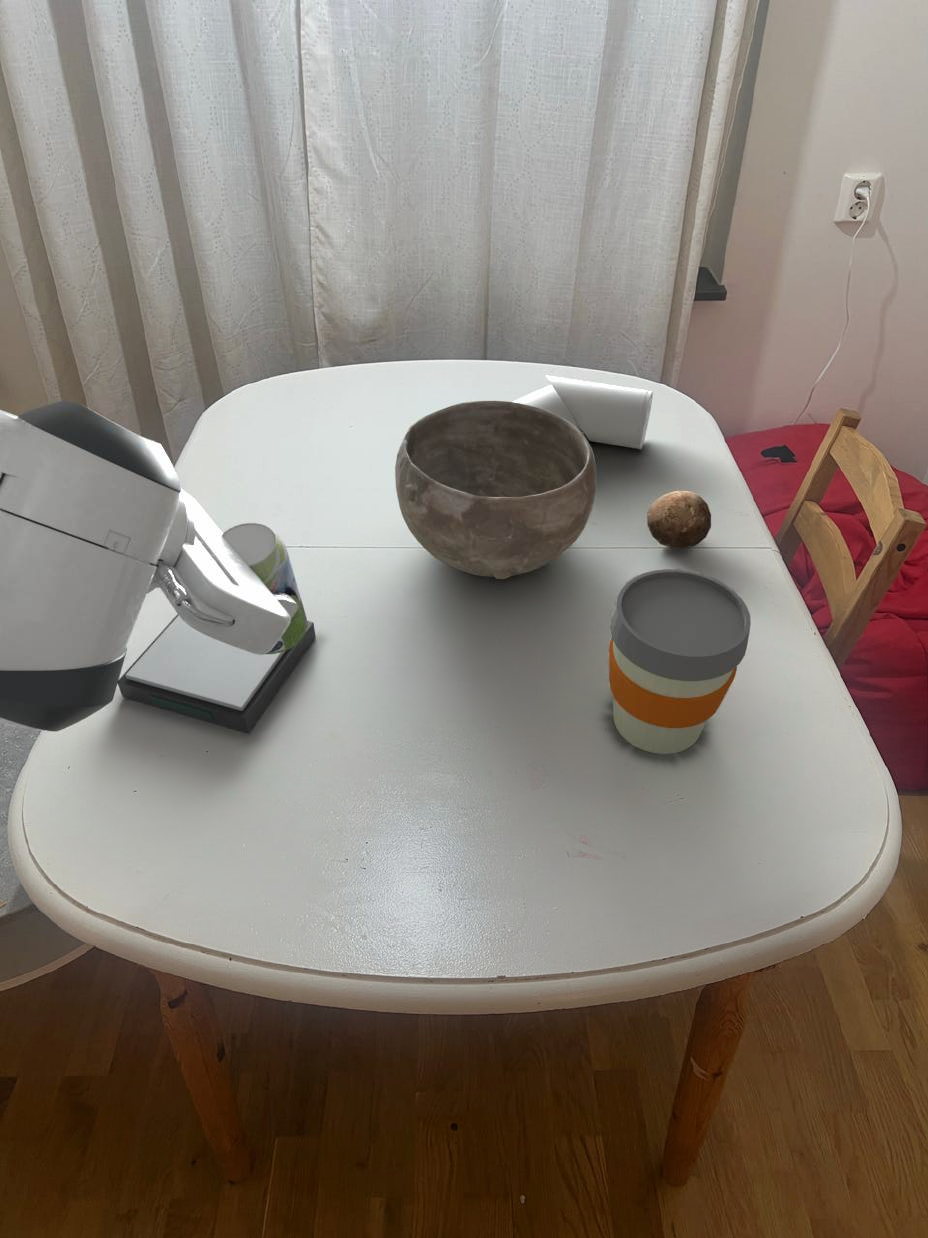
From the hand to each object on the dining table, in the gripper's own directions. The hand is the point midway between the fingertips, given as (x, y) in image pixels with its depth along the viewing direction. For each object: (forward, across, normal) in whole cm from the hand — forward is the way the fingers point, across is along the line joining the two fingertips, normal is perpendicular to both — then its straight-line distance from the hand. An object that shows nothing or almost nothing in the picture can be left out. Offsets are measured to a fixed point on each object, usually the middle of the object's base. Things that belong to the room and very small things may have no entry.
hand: (273, 587), depth 72 cm
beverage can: (+4, +1, +5) cm, 7 cm away
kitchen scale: (+12, +14, +16) cm, 24 cm away
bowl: (+38, +14, -10) cm, 42 cm away
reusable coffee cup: (+36, -19, -8) cm, 41 cm away
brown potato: (+53, +2, -25) cm, 59 cm away
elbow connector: (+57, +28, -29) cm, 69 cm away
